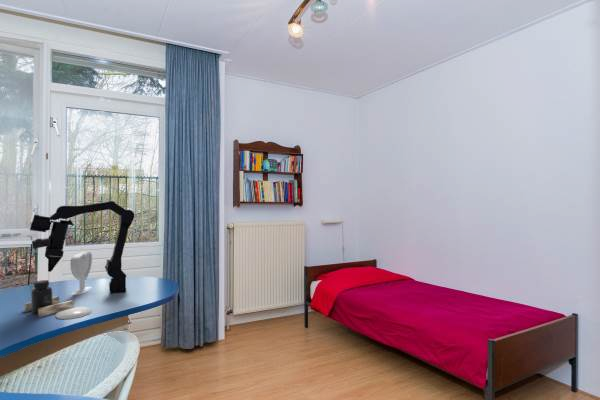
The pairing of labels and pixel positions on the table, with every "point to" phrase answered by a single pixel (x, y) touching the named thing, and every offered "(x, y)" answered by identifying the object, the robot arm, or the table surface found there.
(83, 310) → the pad
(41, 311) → the channel
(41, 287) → the supplement bottle
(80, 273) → the heart sculpture
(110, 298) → the table surface
